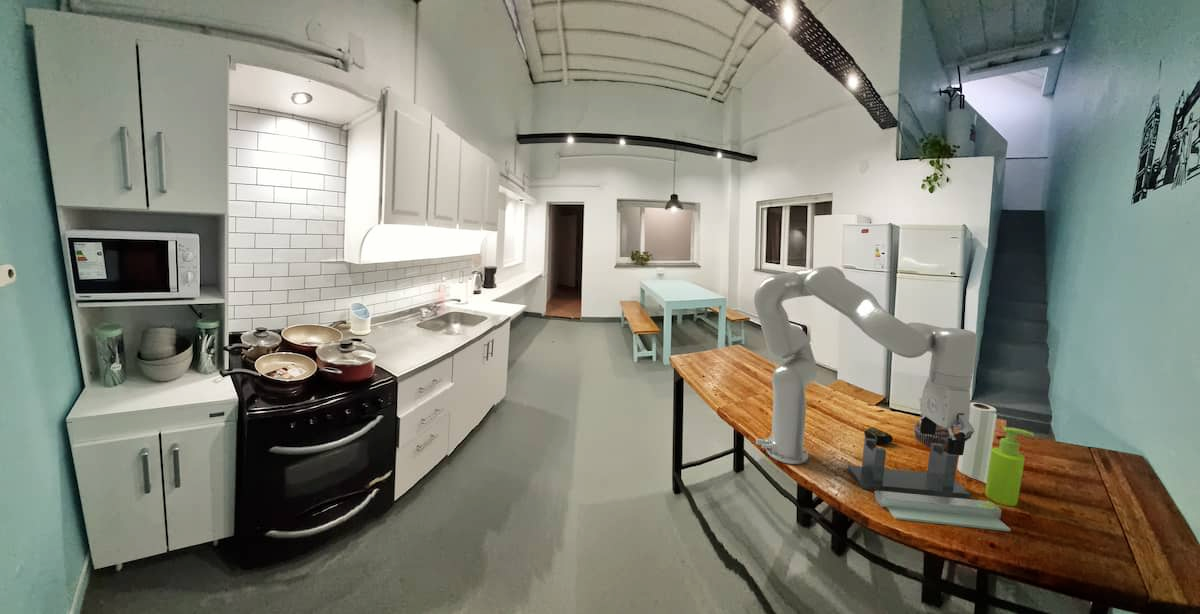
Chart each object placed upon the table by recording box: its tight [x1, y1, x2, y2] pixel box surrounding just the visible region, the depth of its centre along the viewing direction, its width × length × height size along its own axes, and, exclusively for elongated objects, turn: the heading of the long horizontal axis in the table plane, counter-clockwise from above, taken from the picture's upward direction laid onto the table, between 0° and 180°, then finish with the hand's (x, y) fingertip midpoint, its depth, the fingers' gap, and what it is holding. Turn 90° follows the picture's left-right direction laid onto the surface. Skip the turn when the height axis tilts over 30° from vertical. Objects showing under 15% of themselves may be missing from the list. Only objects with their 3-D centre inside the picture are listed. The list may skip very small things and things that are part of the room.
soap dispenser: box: [984, 426, 1036, 507], centre depth 96 cm, size 6×7×20 cm
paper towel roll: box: [956, 401, 998, 484], centre depth 107 cm, size 7×6×21 cm
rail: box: [874, 490, 1003, 520], centre depth 94 cm, size 26×3×2 cm, turn 78°
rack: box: [846, 437, 972, 499], centre depth 104 cm, size 26×9×12 cm, turn 78°
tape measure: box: [863, 426, 894, 446], centre depth 127 cm, size 7×7×4 cm
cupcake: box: [913, 418, 951, 449], centre depth 125 cm, size 10×10×10 cm
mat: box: [874, 490, 1012, 532], centre depth 94 cm, size 24×10×1 cm, turn 78°
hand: (940, 443), depth 92 cm, fingers open, 9 cm apart
